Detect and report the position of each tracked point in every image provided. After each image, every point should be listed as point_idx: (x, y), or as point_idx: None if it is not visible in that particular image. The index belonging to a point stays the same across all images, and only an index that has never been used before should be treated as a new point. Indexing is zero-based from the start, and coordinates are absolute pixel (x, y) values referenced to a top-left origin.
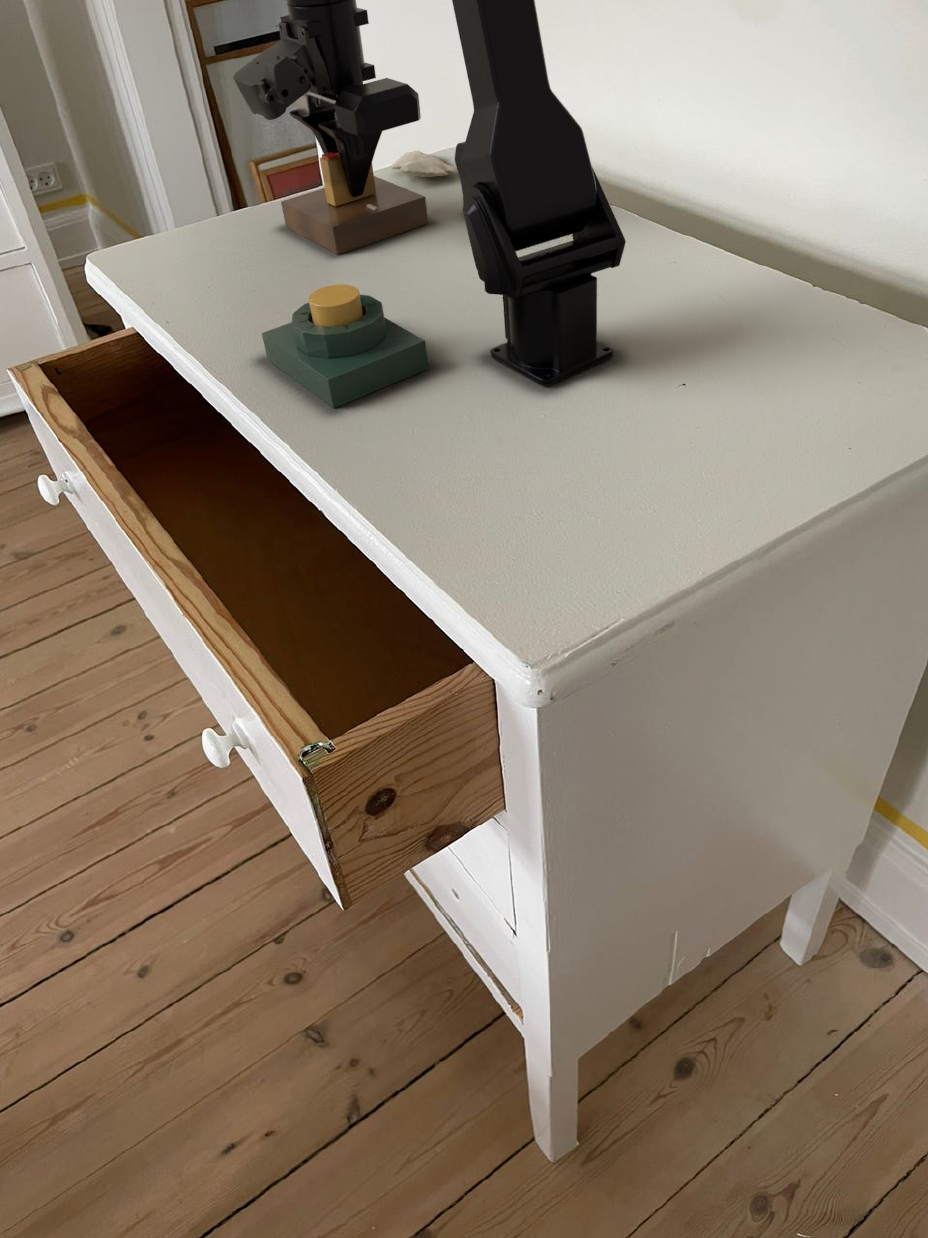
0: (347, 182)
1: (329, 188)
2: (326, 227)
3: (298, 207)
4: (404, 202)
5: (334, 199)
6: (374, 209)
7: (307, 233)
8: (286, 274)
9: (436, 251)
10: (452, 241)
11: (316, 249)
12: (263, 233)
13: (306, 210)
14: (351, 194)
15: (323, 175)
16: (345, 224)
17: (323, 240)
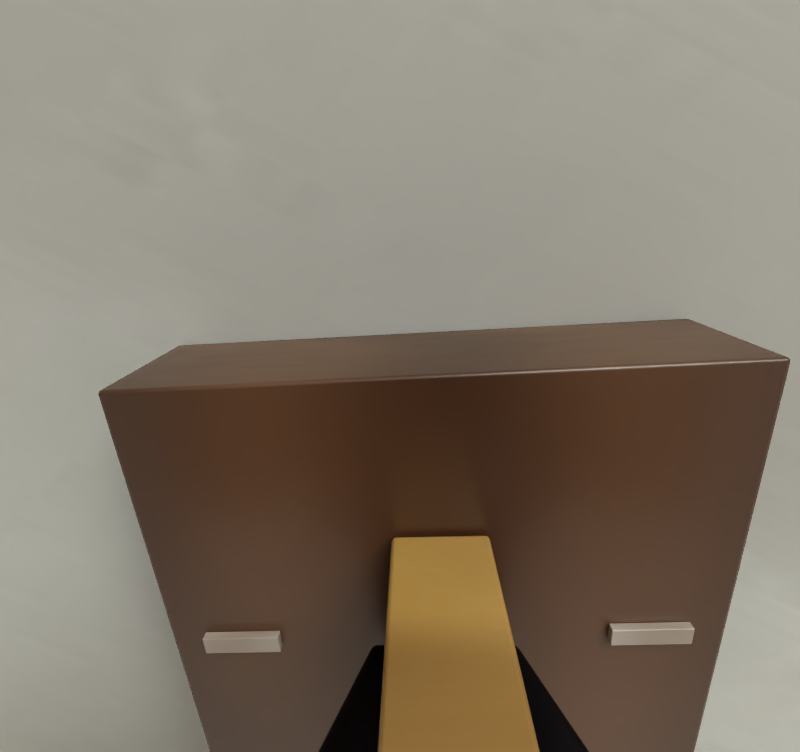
0: (373, 715)
1: (425, 611)
2: (189, 379)
3: (575, 390)
4: (213, 737)
5: (391, 566)
6: (203, 634)
7: (451, 338)
8: (87, 22)
9: (7, 604)
10: (65, 668)
11: (312, 305)
12: (737, 190)
13: (482, 402)
14: (378, 651)
15: (502, 684)
16: (120, 461)
17: (280, 348)
